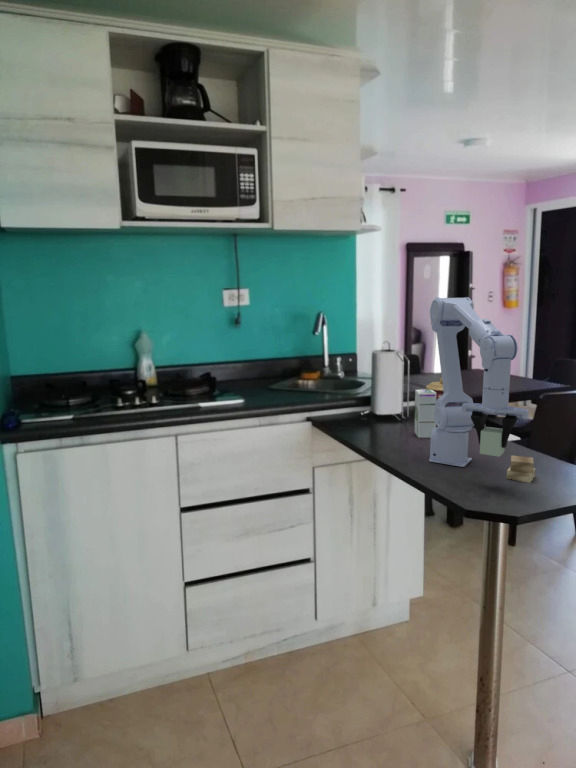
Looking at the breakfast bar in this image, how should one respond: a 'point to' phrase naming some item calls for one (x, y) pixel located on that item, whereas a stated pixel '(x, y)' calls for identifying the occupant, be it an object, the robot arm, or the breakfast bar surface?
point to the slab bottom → (520, 475)
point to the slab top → (521, 464)
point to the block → (491, 441)
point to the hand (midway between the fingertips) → (492, 445)
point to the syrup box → (424, 412)
